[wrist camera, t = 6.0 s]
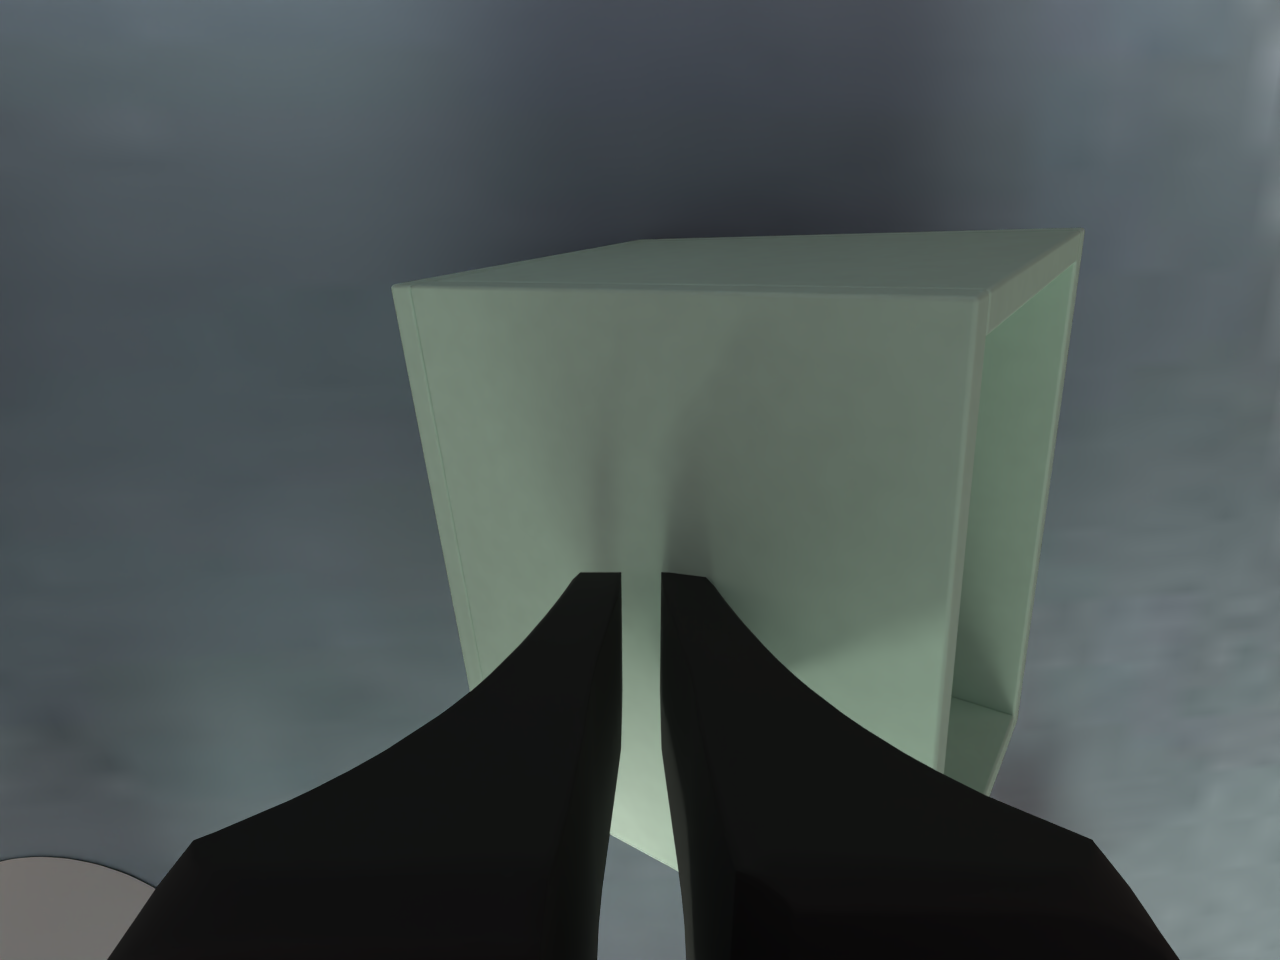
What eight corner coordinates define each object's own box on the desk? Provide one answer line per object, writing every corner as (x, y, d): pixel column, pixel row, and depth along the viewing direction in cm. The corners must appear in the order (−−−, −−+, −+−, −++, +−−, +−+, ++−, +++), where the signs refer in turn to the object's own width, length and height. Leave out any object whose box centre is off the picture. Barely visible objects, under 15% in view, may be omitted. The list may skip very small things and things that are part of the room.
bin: (483, 767, 16) (914, 1002, 11) (388, 284, 12) (979, 297, 7) (667, 611, 21) (1017, 720, 16) (640, 239, 17) (1085, 227, 12)
